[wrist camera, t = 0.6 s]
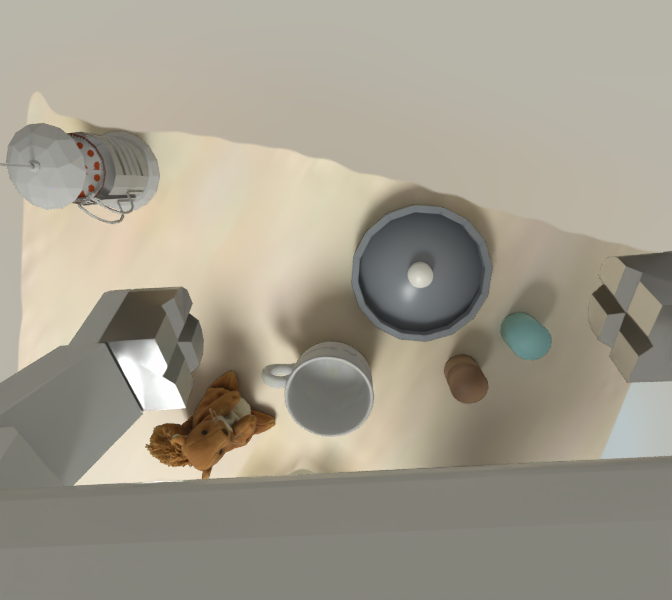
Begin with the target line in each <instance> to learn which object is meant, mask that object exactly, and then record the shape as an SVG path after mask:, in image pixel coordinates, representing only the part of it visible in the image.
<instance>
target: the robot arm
mask: <svg viewBox="0 0 672 600" xmlns="http://www.w3.org/2000/svg"><path fill="white" fill-rule="evenodd" d="M598 276H599V278H600V280H601V281H602V283H603V285H602V286H601V287H599V288H598V289H597V290H596V291H595V292H594V293H593V294H592V296H591V299H590V303H589V306H588V316H589V323H590V326H591V329H592V331H593V333H594V334H595V336H596V338H597V339H598V340H599V341H601V342H602V343H604V344H606V345H608V346H610V347H611V348H612V349H611V353H610V356H609V357H610V358H611V360H612V361H613V363H614V364H615V366H616V367H617V369H618V370H619V371H620V373H621V374H622V376H623V377H624V379H625V380H626V382H627V383H628V382H655V381H656V382H658V381H672V251H668V252H663V253H652V254H640V255H628V256H616V257H608V258H607V259H606V260H605V261H604V263H603V264H602V266H601V269H600V272H599V274H598ZM192 304H193V303H192V301H191V298H190V296H189V293H188V291H187V290H186V289H185V288H183V287H166V288H146V289H134V290H132V289H127V290H114V291H108V292H106V293H104V294H103V295H102V297H101V298H100V300H99V301H98V302H97V304H96V305H95V307H94V308H93V310H92V311H91V313H90V314H89V316H88V317H87V319H86V320H85V322H84V323H83V325H82V326H81V327H80V329H79V330H78V332H77V333H76V335H75V336H74V338H73V339H72V341H71V342H70V344H69V345H66V346H59V347H58V348H56V349H54V350H53V351H51V352H50V353H48V354H46V355H45V356H43V357H41V358H40V359H38V360H37V361H35V362H33V363H32V364H30V365H29V366H27V367H25V368H24V369H22V370H20V371H19V372H17V373H16V374H14V375H12V376H11V377H9V378H8V379H6V380H4V381H3V382H1V383H0V600H672V456H658V457H638V458H620V459H598V460H578V461H558V462H538V463H518V464H498V465H478V466H458V467H438V468H418V469H398V470H378V471H358V472H338V473H318V474H298V475H277V476H257V477H237V478H217V479H197V480H177V481H157V482H138V483H118V484H98V485H78V486H73V485H74V484H75V483H76V482H77V481H78V480H79V479H80V478H81V477H82V476H83V475H84V474H85V473H86V472H87V471H88V470H89V469H90V468H91V467H92V466H93V465H94V464H95V463H96V462H97V461H98V459H99V458H100V457H101V456H102V455H103V454H104V453H105V452H106V451H107V450H108V449H109V448H110V447H111V446H112V445H113V444H114V443H115V442H116V441H117V440H118V439H119V438H120V437H121V436H122V435H123V434H124V433H125V432H126V431H127V430H128V429H129V428H130V427H131V426H132V425H133V424H134V423H135V421H136V420H137V419H138V418H139V417H140V416H141V415H142V414H143V413H142V412H144V411H156V410H167V409H179V408H186V405H187V402H188V399H189V396H190V393H191V390H192V387H193V384H194V380H193V377H192V375H191V372H192V371H193V370H194V369H196V368H197V367H198V366H199V365H200V362H201V359H202V355H203V342H204V340H203V334H202V329H201V326H200V323H199V320H197V319H196V318H195V317H193V316H192V315H191V314H189V312H190V309H191V306H192Z"/></svg>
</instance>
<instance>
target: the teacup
mask: <svg viewBox="0 0 672 600" xmlns="http://www.w3.org/2000/svg"><path fill="white" fill-rule="evenodd" d="M275 375H286V376H275ZM262 380H263V382H264V383H265V384H266V385H268V386H270V387H273V388H285V402H286V407H287V409H288V412H289V413H290V415H291V417H292V418H293V419H294V421H295V422H296V423H297V424H298V425H300V426H301V427H302V428H304V429H305V430H307V431H309V432H311V433H313V434H316V435H320V436H326V437H335V436H341V435H345V434H348V433H350V432H352V431H354V430H356V429H357V428H358V427H360V426H361V425H362V424H363V423H364V422H365V420H366V419H367V418H368V416H369V414H370V412H371V410H372V407H373V401H374V393H373V384H372V375H371V371H370V368H369V365H368V363H367V361H366V360H365V358H364V357H363V356H362V355H361V354H360V353H359V352H358V351H357V350H356V349H354V348H353V347H351V346H349V345H347V344H344V343H341V342H332V341H329V342H322V343H319V344H316V345H314V346H312V347H310V348H309V349H307V350H306V351H305V352H304V353H303V354H302V355H301V356H300V357H299V359H298V360H297V362H296V363H293V364H273V365H268V366H266V367H265V368H264V370H263V372H262Z"/></svg>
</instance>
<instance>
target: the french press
mask: <svg viewBox="0 0 672 600" xmlns="http://www.w3.org/2000/svg"><path fill="white" fill-rule="evenodd" d="M87 135H89V136H87ZM93 136H94V137H93ZM0 166H7V168H8V172H9V177H10V180H11V181H12V183H13V184H14V186H15V188H16V189H17V191H18V192H19V194H20V195H21V196H23V197H24V198H25V199H26V200H27V201H29V202H30V203H31V204H32V205H35V206H38V207H41V208H44V209H47V210H49V209H59V208H63V207H65V206H67V205H69V204H71V203H76V204H78V207H79V208H80V209H82V210H83V211H84V212H86V213H87V214H88V215H90V216H92V217H94V218H96V219H98V220H100V221H103V222H106V223H110V224H115V223H120V222H121V221H122V220H123V218H124V214H129V213H131V212H132V211H133V210H137V209H139V208H141V207H142V206H144V205H146V204H148V203H149V202H150V200H151V199H152V197H153V196H154V194H155V193H156V192H157V187H158V183H159V178H160V174H159V168H158V163H157V159H156V158H155V156H154V154H153V152H152V151H151V149H150V147H149V146H148V145H147V144H146V143H145V142H143V141H142V140H141V139H140V138H139V137H138V136H136V135H133V134H130V133H127V132H124V131H115V132H107V133H105V134H104V135H102V136H101V135H95V134H91V133H85V132H75V133H67V134H66V133H65V132H64V131H63V130H62V129H60V128H58V127H55V126H51V125H48V124H45V123H40V124H30V125H27V126H25V127H24V128H22V129H21V130H20V131H18V132H16V133H15V135H14V137H13V138H12V140H11V142H10V143H9V145H8V151H7V159H6V164H2V163H0ZM95 198H97V199H99V200H101V201H99V200H97V199H95ZM91 199H93V200H94V201H92V200H91ZM89 201H90V202H93V203H89ZM86 203H88V204H86ZM95 203H97V204H95ZM92 204H94V205H100V206H102V207H104V208H106V209H108V210H110V211H112V212H114V213H118V214H121V215H122V216H121V218H120V220H117V221H113V222H111V221H106V220H103V219H101V218H98V217H96V216H95V215H93V214H91V213H89V212H88V211H87V210H86V209H84V208H83V207H82V206H81V205H92ZM104 204H106V205H107V206H109V207H112V208H115V209H118V210H120V211H121V212H120V211H117V210H113V209H111V208H109V207H107V206H106V205H104ZM123 211H127V212H123Z"/></svg>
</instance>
